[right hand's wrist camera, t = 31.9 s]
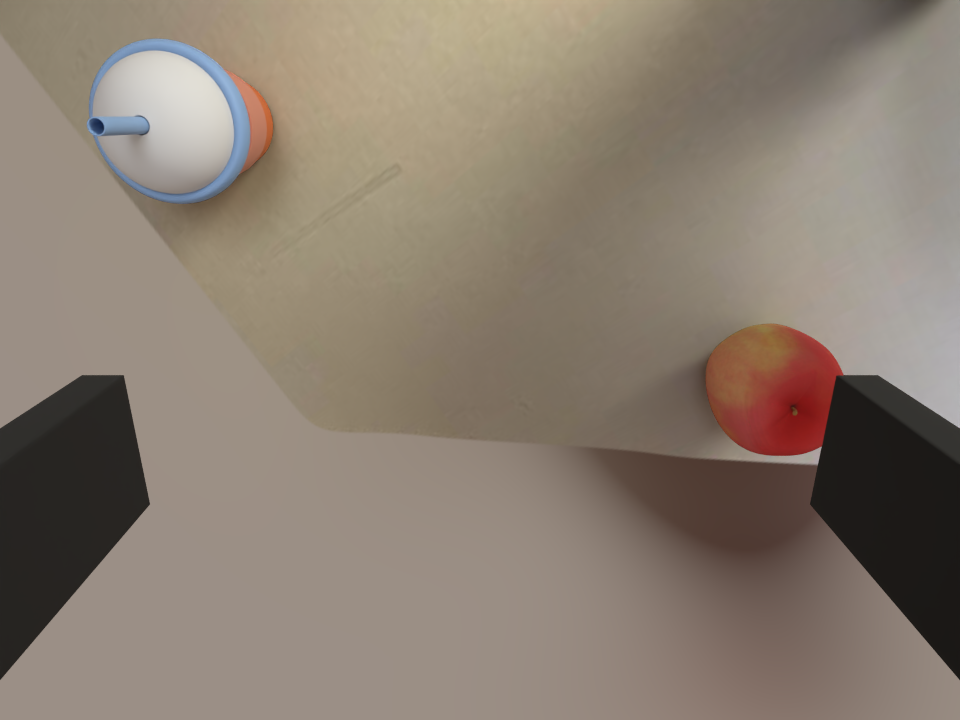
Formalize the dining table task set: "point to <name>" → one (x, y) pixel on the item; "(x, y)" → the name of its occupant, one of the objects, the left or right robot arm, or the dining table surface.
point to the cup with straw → (176, 121)
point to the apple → (772, 389)
